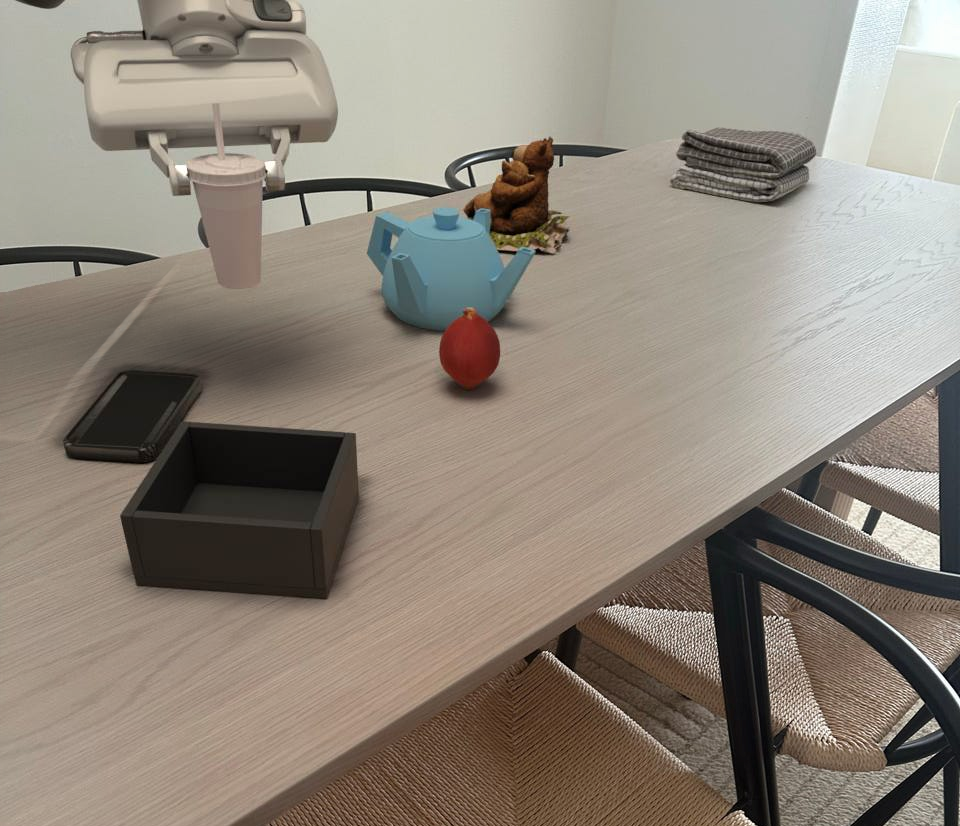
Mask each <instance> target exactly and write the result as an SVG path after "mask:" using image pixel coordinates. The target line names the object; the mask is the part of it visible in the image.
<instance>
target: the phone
mask: <svg viewBox="0 0 960 826" xmlns="http://www.w3.org/2000/svg"><path fill="white" fill-rule="evenodd" d="M202 387H203V386H202V381H201V377H200V375H199V374H196V373H193V372H192V373H191V372H179V371H178V372H176V371H175V372H174V371H163V370H148V369H135V368H134V369H133V368H131V369H125V370H122V371H119V373H117V374H116V376H114V378H113V379H112V380H111V381H110V382H109V384H108V385H107V386H106V388H104V390H103V391H102V392H101V393H100V395H99V396H98V397H97V398H96V399H95V400H94V402H92V404H91V405H90V407H89V408H88V409H87V410H86V411H85V413H84V414H83V415H82V416H80V419H79V420H78V421H77V422H76V423H75V425H74V426H73V427H72V428H71V430H70V431H69V432H68V433H67V434H66V435H65V437H64V438H63V439H62V443H63V447H64V451H65V455H66V456H67V457H69V458H73V459H83V460H84V459H86V460H101V461H113V462H125V463H126V462H127V463H148V462H152V461H154V460H156V459H157V458H158V456H159V455H160V453H161V452H162V450H163V449H164V447H165V446H166V444H167V443H168V441H169V440H170V438H171V437H172V435H173V433H174V432H175V430H176V429H177V427H178V426H179V424H180V423H181V421H183V420H184V417H185V415H186V414H187V413H188V411H189V409H190V408H191V407H192V405H194V404H193V403H194V402H195V401H196V399H197V398H198V396H199V394H200V393H201V392H202V389H203V388H202Z"/></svg>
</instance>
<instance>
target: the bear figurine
mask: <svg viewBox="0 0 960 826" xmlns="http://www.w3.org/2000/svg"><path fill="white" fill-rule="evenodd" d="M553 143H554V138H553V137H552V136H551V135H549V137H548V138H546V137H544V138H543V140H542V139H539V140H535V141H532V142H529V144H520V145H518V146H517V147H516V148H515V149H514V150H512V152H511V158H512V160H511V161H509V162H508V161H507V160H504V159H503V160H502V162H501V172H502V173H501V174H498V175H497V176H496V178H495V181H494V182H493V183H492V186H491V188H490V189H489V190H488V191H487V192H484V193H478V194H476V195H475V196H474V197H473V198H472V199H470V200H469V202H467V204H466V205H465V206H464V208H463V210H462V211H463V213H464V214H465V216H466V218H467V219H470V220H473V219H474V216H475V212H476V211H477V210H479V209H481V208H482V209H488V210H491V215H490V238H491V239H492V241H493V243H494V245H495V247H496V249H497V251H508V252H509V251H510V252H517V251H518V249H519V248H521V247H525V248H529V249H532V250H535V251H536V250H537V249H539V250H540V251H541V252H545V253H549V254H555V253H557V252H558V250H556V248H557V247H559V246H560V245H561V244H562V243H563V239H564V237H565V236H566V234H568V233H569V231H570V230H571V227H567V223H566V220H568V218H570V217H571V216H570V215H563V212H561V211H558V210H552V209H551V210H549V207H550V205H549V203H550V202H549V175H550V169H552V167H554V164H555V163H554V162H555V153H554V150H553ZM555 215H557V216H555ZM553 216H554V217H553Z"/></svg>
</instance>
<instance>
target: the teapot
mask: <svg viewBox="0 0 960 826" xmlns="http://www.w3.org/2000/svg"><path fill="white" fill-rule="evenodd" d="M490 215H491V210H488V209H482V208H481V209H479V210H477V211H476V212H475V216H474V219H473V220H470V219H467V218H468V217H461V216H460V210H458V209H456V208H454V207H450V206H449V207H447V206H443V207H437V208H435V209H432V215H431V216H430V215H429V216H424V217H420V218H417V219H414V220H412V221H411V222H409V221H407V220H405V219H402V218H400V217H399V216H396V215H395V214H393V213H390V212H389V211H384V212H382V213H379V214H377V215H375V219H374V223H373V227H372V231H371V234H370V239H369V242H368V246H367V250H366V255H367V257H368V258H369V259H370V260H371V262H372V263H373V265H374V266H375V267H376V269H377V270H378V272H380V274H381V275H382V281H381V296H382V299H383V302H384V303H385V305H386V306H387V307H388V308H389V310H390V311H391V312H392V313H393V314H394V315H395V316H396V317H397V318H398V319H399V320H400V321H402V322H404V323H405V324H408V325H411V326H413V327H417V328H420V329H426V330H433V331H442V332H443V331H444V332H445V330H446V329H447V328H448V326H449V325H450V324H451V323H452V322H453V321H454V320H456V319H457V318H459V317H461V316H463V314H464V313H463V311H464V310H465V309H466V308H468V307H470V308H471V307H472V308H473V309H475V310H476V312H477V313H478V315H479V316H481V317H483V318H484V319H485V320H486V321H487V322H488V323H489V322H491V321H492V320H493V319H494V318H495V317H496V316H497V315H498V314H499V313H500V312H501V311H502V309H503V308H504V307H505V306H506V304H507V301H509V299H510V298H511V296H512V294H513V293H514V291H515V289H516V288H517V286H518V284H519V282H520V281H521V279H522V277H523V275H524V274H525V272H526V270H527V269H528V267H529V264H530V263H531V262H532V260H533V258H534V256H535V254H536V249H535V250H532V249H529V248H525V247H521V248H519V249H518V251H516V253H515V254H514V256H513V257H512V258H511V260H509V262H508V263H507V264H506V266H504V263H503V259H502V257H501V255H500V253H499V250H497V249H496V247H495V245H494V243H493V241H492V239H491V238H490ZM393 235H394V236H395V237H396V238H398V239H397V241H396V243H395V244H394V246H393V248H392V247H391V246H392V239H393Z"/></svg>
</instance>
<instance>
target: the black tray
mask: <svg viewBox="0 0 960 826" xmlns="http://www.w3.org/2000/svg"><path fill="white" fill-rule="evenodd" d="M357 448H358V447H357V433H356V432H348V431H347V432H346V431H332V430H320V429H319V430H318V429H303V428H289V427H288V428H287V427H273V426H258V425H246V424H245V425H243V424H228V423H215V422H214V423H213V422H197V421H185V420H181V422H180V423H179V425H178V426H177V428H176V429H175V431H174V432H173V434H172V435H171V437H170V438H169V440H168V441H167V443H166V444H165V446H164V447H163V449H162V450H161V452H160V453H159V455H158V456H157V457H156V459H155V461H154V462H153V464H152V465H151V467H150V468H149V470H148V471H147V473H146V475H145V476H144V478H143V480H142V481H141V483H139V486H138V487H137V489H136V490H135V492H134V493H133V495H132V496H131V497H130V500H129V501H128V503H127V504H126V506H125V507H124V509H123V510H122V512H121V513H120V515H119V517H120V518H119V519H120V521H121V526H122V530H123V534H124V539H125V543H126V548H127V553H128V556H129V561H130V565H131V569H132V574H133V578H134V581H135V585H137V586H144V587H145V586H146V587H159V588H160V587H161V588H171V589H172V588H173V589H185V590H186V589H188V590H200V591H215V592H228V593H229V592H230V593H244V594H255V595H270V596H271V595H272V596H284V597H285V596H286V597H297V598H298V597H299V598H311V599H312V598H313V599H325V600H326V599H328V597H329V593H330V590H331V588H332V584H333V581H334V577H335V574H336V571H337V568H338V566H339V561H340V558H341V556H342V552H343V549H344V546H345V543H346V539H347V536H348V533H349V530H350V526H351V524H352V520H353V518H354V517H353V516H354V514H355V511H356V508H357V504H358V502H359V497H360V492H359V471H358V470H359V469H358V455H357V454H358V452H357V451H358V450H357Z"/></svg>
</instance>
